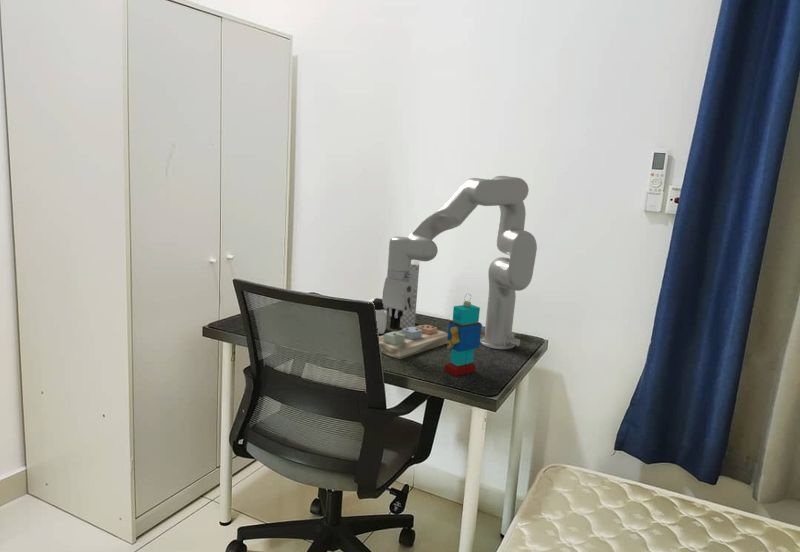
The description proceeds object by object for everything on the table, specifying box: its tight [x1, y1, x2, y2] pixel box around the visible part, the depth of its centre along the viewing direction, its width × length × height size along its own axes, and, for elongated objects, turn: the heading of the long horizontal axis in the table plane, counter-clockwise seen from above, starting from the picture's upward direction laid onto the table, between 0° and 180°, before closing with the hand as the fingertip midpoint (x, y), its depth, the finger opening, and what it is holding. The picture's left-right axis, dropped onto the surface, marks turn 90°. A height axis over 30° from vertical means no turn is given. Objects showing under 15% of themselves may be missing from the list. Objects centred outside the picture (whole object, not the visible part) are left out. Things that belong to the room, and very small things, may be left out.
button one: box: [383, 330, 405, 346], centre depth 189 cm, size 5×5×3 cm
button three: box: [418, 324, 438, 335], centre depth 203 cm, size 5×5×3 cm
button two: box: [401, 327, 422, 340], centre depth 196 cm, size 5×5×3 cm
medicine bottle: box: [368, 297, 388, 335], centre depth 209 cm, size 7×7×12 cm
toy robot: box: [443, 293, 484, 377], centre depth 172 cm, size 12×6×25 cm, turn 127°
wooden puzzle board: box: [378, 324, 448, 360], centre depth 196 cm, size 14×28×3 cm, turn 139°
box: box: [399, 260, 421, 329], centre depth 217 cm, size 8×8×25 cm
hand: (394, 328), depth 188 cm, fingers closed
